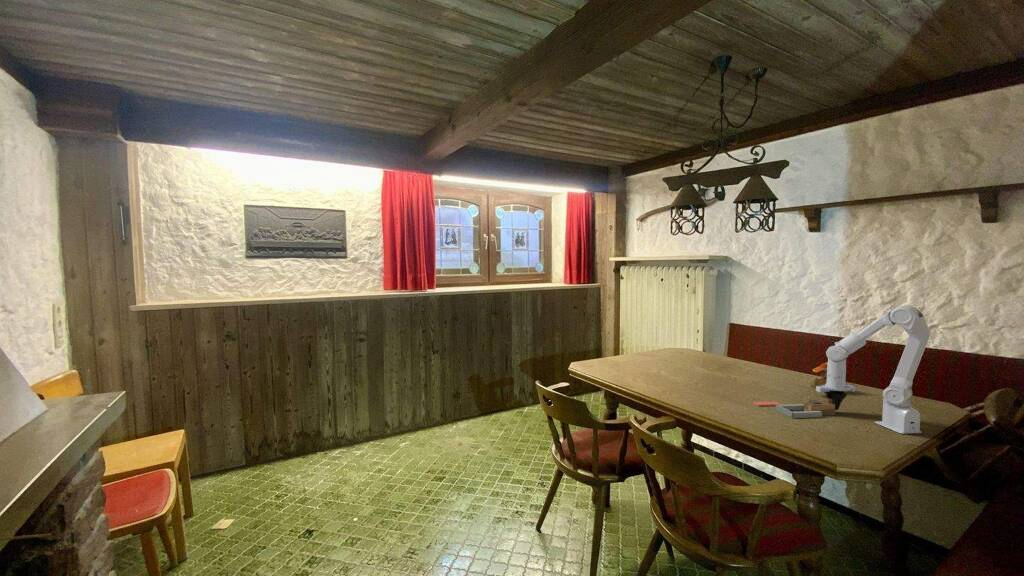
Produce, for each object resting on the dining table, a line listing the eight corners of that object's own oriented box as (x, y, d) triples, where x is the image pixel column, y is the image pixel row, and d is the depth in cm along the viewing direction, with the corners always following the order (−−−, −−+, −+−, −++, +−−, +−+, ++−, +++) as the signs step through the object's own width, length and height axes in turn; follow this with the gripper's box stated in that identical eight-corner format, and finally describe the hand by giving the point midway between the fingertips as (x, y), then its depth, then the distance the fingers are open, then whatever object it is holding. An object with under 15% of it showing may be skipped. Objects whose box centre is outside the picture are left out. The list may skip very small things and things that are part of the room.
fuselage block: (834, 414, 156) (835, 400, 155) (810, 414, 156) (811, 400, 156) (827, 410, 160) (827, 397, 159) (803, 410, 160) (804, 397, 160)
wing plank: (776, 404, 169) (776, 401, 169) (782, 407, 165) (782, 404, 165) (753, 404, 169) (753, 401, 169) (758, 407, 165) (758, 404, 165)
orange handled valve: (842, 390, 184) (843, 361, 183) (823, 399, 173) (824, 368, 172) (821, 385, 191) (822, 357, 190) (801, 394, 179) (802, 364, 178)
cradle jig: (821, 417, 154) (822, 412, 154) (791, 418, 153) (791, 413, 153) (804, 408, 162) (804, 404, 162) (775, 409, 161) (776, 405, 161)
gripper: (844, 372, 162) (842, 404, 163) (810, 373, 161) (808, 405, 162) (860, 377, 155) (858, 411, 156) (825, 378, 154) (823, 412, 155)
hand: (834, 409), depth 158 cm, fingers closed
